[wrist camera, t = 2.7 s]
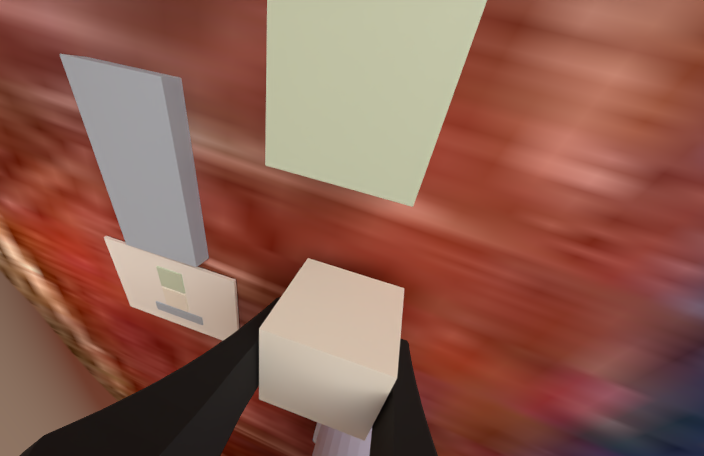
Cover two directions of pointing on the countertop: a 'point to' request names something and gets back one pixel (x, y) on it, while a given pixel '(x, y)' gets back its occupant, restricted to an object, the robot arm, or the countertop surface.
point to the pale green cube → (363, 88)
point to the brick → (332, 347)
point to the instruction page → (177, 290)
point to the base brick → (142, 154)
